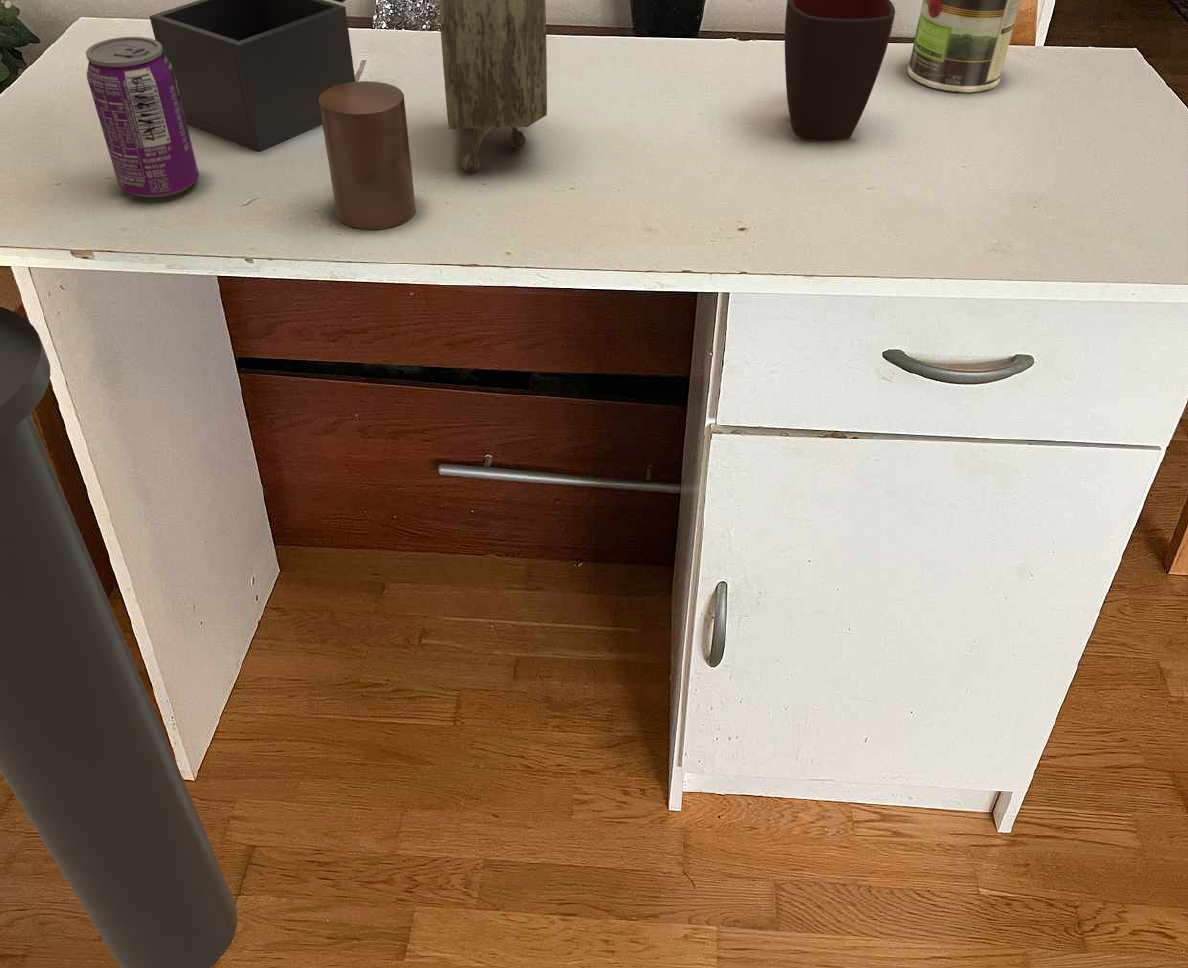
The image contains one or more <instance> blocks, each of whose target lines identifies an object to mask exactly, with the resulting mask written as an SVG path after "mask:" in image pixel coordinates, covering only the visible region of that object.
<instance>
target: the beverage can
mask: <svg viewBox="0 0 1188 968" xmlns="http://www.w3.org/2000/svg"><path fill="white" fill-rule="evenodd" d="M85 55H86V59H87V60H88V65H87V70H86V79H87V83H88V86H89V90H90V94H91V97H92V100H93V103H94V107H95V110H96V113H97V116H98V121H99V123H100V127H101V129H102V133H103V137H104V140H105V143H106V147H107V150H108V154H109V157H110V160H111V163H112V164H111V165H112V168H113V172H114V174H115V177H116V180H117V184H118V187H119V188H120V189H121V190H122V191H124V192H126V193H128V194H130V195H135V196H139V197H141V198H146V199H163V198H169V197H173V196H176V195H178V194H181V193H183V192H184V191H185V190H187V189H188V188H190V187H191V186H192V185H194V184H195V183H196V182H197V180H199V177H200V172H199V168H198V164H197V160H196V156H195V151H194V148H193V143H192V140H191V135H190V132H189V128H188V124H187V123H186V119H185V115H184V111H183V107H182V102H181V98H180V94H179V90H178V86H177V82H176V78H175V74H174V70H173V67H172V65H171V63H170V62H169V60H168V59H167V58H166V56H165V55H164V54H163V49H162V45H161V43H160V42H158V41H156V40H155V38H150V37H146V36H145V37H144V36H123V37H115V38H109V39H104V40H102V41H99V42H97V43H94V44H92V45H91V46H89V47H88V48H87V49H86V50H85Z"/></svg>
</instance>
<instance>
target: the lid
mask: <svg viewBox="0 0 1188 968" xmlns="http://www.w3.org/2000/svg"><path fill="white" fill-rule="evenodd" d="M333 1H334V2H338V3H341V4H342V3H345V1H347V0H333Z"/></svg>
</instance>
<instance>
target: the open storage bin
mask: <svg viewBox="0 0 1188 968" xmlns="http://www.w3.org/2000/svg"><path fill="white" fill-rule="evenodd" d="M149 21H150V25H151V28H152V32H153V37H154V40H156V41H158V42H160V43H161V45H162V49H163V54H164V55H165V56H166V58H167V59H168V60H169V62H170V63H171V65H172V67H173V70H174V74H175V78H176V82H177V86H178V90H179V94H180V98H181V102H182V107H183V111H184V115H185V119H186V123H187V125H188V126H192V127H194V128H197V129H200V130H202V131H205V132H208V133H210V134H212V135H216V136H218V137H219V138H223V139H226V140H228V141H231V142H234V143H237V144H239V145H241V146H244V147H246V148H249V149H252V150H256V151H257V152H262V151H264V150H266V149H269V148H271V147H273V146H275V145H278V144H280V143H282V142H285V141H286V140H289V139H291V138H294V137H296V136H298V135H300V134H302V133H305V132H307V131H310V130H312V129H314V128H317V127H318V126H321V125H323V124H322V118H321V112H320V105H319V97H320V95H321V94H322V93H323V92H324V91H326V90H327V89H329V88H331V87H334V86H337V85H340V84H345V83H350V82H356V76H355V69H354V60H353V54H352V46H351V39H350V38H351V37H350V32H349V24H348V23H349V22H348V17H347V10H346V6H344V5H342V4H339V3H335V2H331V1H328V0H195V1H192V2H189V3H185V4H182V5H178V6H177V7H174V8H171V9H168V10H164V11H161V12H158V13H154V14H152V15H149Z"/></svg>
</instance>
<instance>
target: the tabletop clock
mask: <svg viewBox="0 0 1188 968" xmlns="http://www.w3.org/2000/svg"><path fill="white" fill-rule="evenodd" d="M437 1H438V15H439V26H440V29H439V30H440V41H441V51H442V67H443V79H444V92H445V93H444V94H445V103H446V104H445V105H446V116H447V117H446V118H447V127H448V130H465V129H466V130H467V129H469V130H470V129H472V130H473V129H474V134H473V140H472V144H471V148H470V153H467V154H465V155H464V156H463V157H462V159H461V166H462V168H463V170H465V172H468V173H475V172H476V170H478V168H479V167H480V161H479V157H477V154H478V151H479V148H480V146H481V143H482V141H483V139H484V137H485V135H486V134H487V133H488V131H490V130H491V129H504V128H507V129H508V128H510V130H511V131H512V132H511V133H510V134H509V138H508V141H509V143H510V145H511V146H512V147H513V148H516V149H519V148H522V147H524V145H525V143H526V140H527V138H526V136H525V133H524V132H523V131H521V130H519V129H518V128H529V127H531V126H532V125H533V124H535V123H537V122H538V121H539V120H542V119H543V118H544V117H546V116H548V80H547V79H548V67H547V66H548V65H547V63H548V61H547V58H548V57H547V11H546V8H547V7H546V0H437Z"/></svg>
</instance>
